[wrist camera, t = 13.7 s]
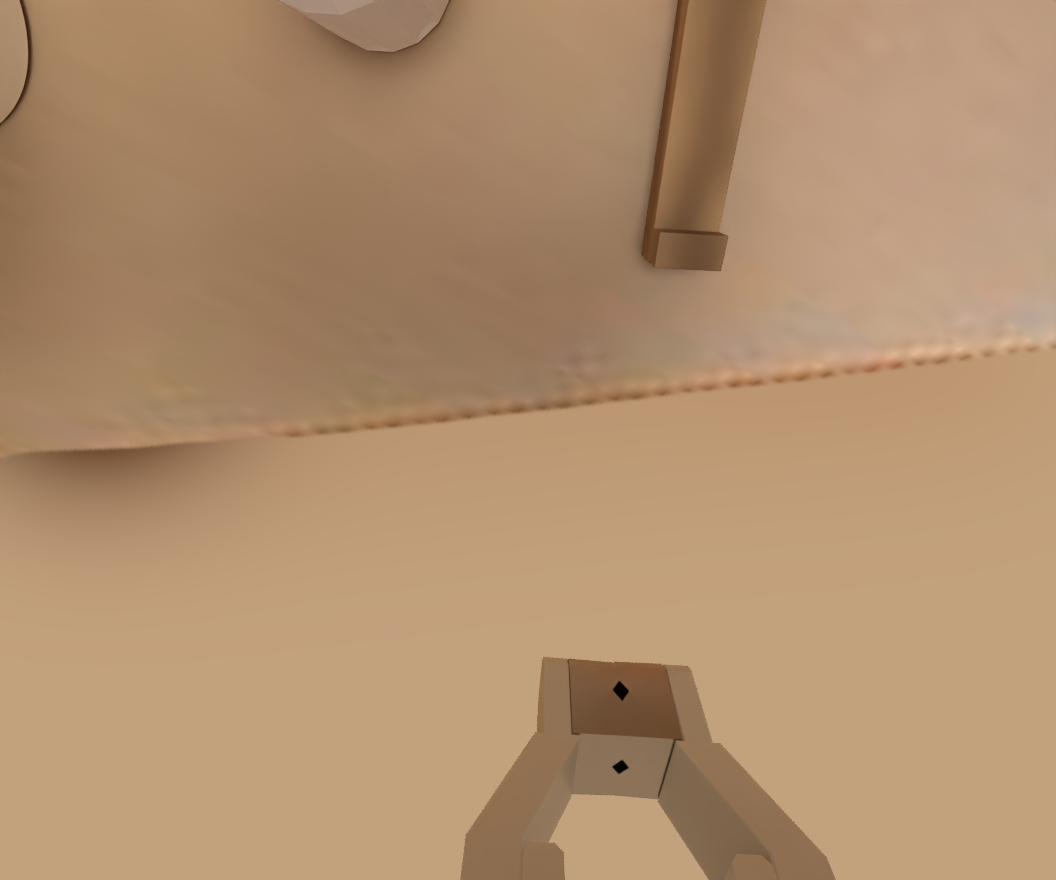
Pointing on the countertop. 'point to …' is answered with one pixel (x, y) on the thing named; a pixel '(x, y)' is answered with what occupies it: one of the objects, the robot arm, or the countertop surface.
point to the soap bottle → (374, 20)
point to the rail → (700, 131)
